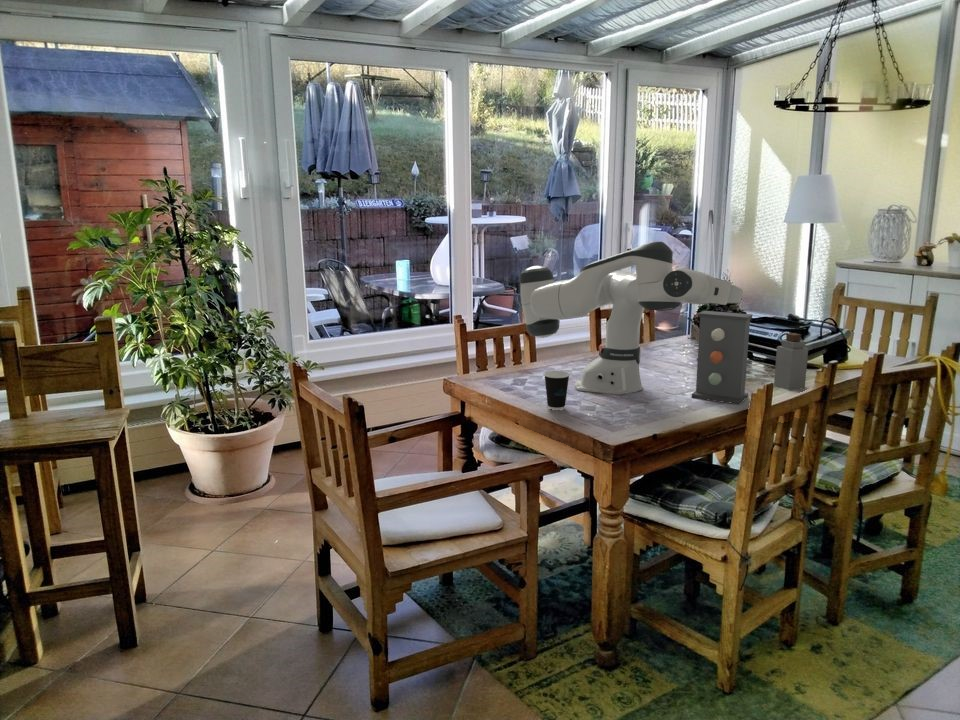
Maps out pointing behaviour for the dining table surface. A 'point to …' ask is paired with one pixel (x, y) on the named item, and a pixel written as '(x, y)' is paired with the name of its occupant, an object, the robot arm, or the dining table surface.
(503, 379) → the dining table surface
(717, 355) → the button middle
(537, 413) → the dining table surface
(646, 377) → the dining table surface
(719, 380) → the button bottom
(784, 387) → the perfume bottle
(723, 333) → the button top
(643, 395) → the dining table surface
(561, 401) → the dixie cup
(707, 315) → the button column
